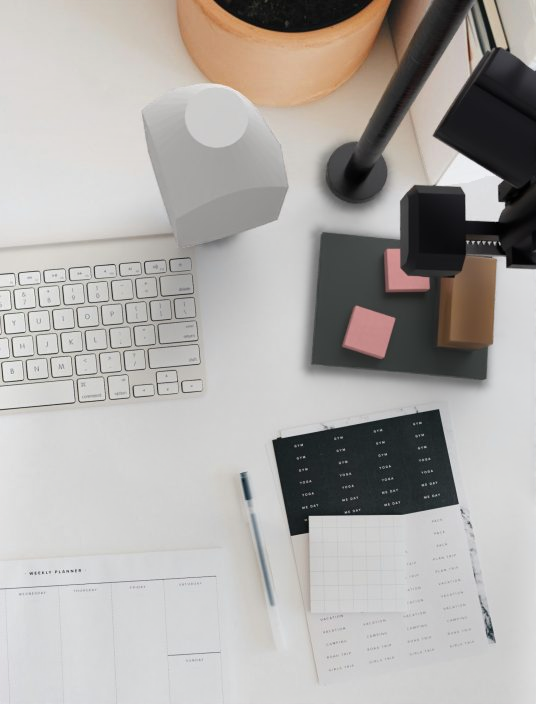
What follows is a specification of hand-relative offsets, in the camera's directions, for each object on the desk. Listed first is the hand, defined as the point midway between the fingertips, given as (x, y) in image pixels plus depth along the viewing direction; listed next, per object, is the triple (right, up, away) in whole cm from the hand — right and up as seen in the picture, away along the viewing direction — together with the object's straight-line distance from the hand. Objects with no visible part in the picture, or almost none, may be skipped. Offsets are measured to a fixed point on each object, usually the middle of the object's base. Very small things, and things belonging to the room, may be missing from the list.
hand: (487, 264), depth 62 cm
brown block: (0, -3, +10) cm, 11 cm away
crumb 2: (-4, +1, +11) cm, 12 cm away
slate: (-5, -2, +11) cm, 12 cm away
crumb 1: (-8, -5, +10) cm, 14 cm away
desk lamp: (-9, +11, +12) cm, 19 cm away
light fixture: (-23, +7, +12) cm, 27 cm away
